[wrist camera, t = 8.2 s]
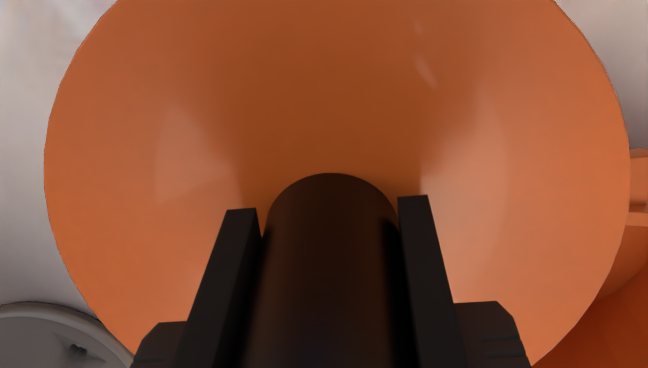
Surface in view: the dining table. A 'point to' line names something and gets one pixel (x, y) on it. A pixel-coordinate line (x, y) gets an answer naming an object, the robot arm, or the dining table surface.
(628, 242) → the pot
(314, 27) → the lid
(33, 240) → the dining table surface
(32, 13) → the dining table surface
